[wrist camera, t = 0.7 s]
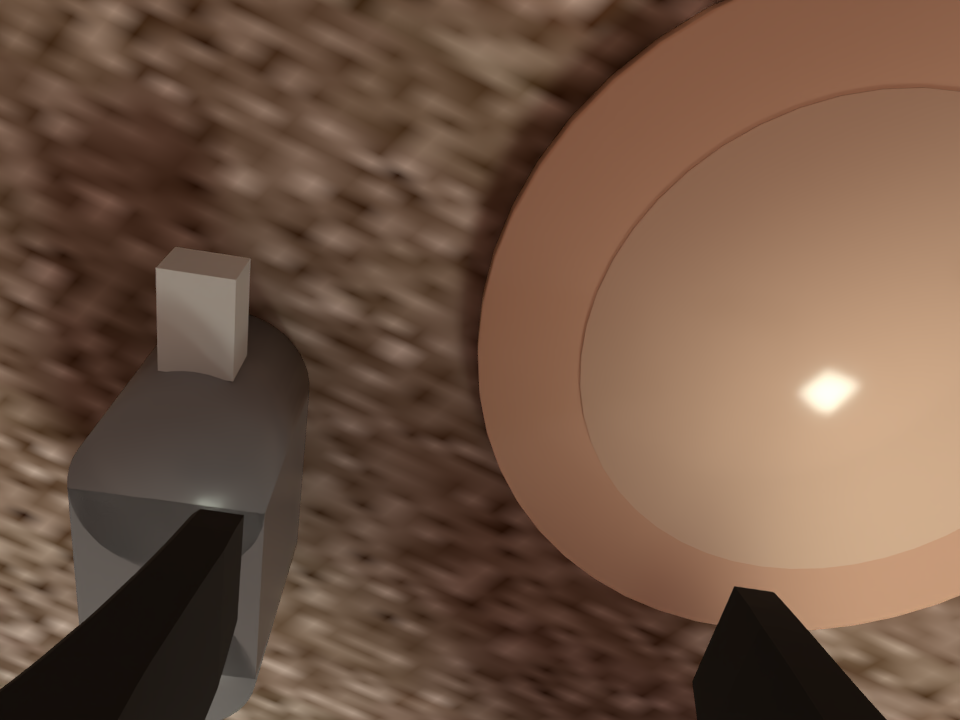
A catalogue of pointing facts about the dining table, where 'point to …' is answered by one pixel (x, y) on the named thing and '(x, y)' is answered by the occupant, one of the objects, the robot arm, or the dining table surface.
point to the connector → (199, 452)
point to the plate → (745, 316)
